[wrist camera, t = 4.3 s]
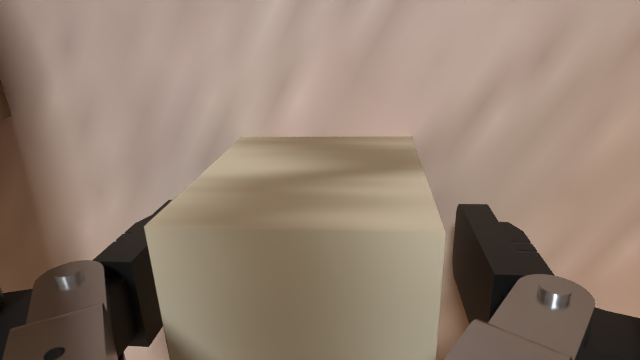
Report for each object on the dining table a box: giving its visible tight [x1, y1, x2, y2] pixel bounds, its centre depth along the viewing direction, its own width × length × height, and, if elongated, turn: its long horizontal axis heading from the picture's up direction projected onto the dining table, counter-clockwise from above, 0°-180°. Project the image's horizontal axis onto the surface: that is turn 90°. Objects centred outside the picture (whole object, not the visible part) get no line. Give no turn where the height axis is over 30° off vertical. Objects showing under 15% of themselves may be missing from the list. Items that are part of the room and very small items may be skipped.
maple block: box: [144, 137, 445, 360], centre depth 11 cm, size 5×5×6 cm
